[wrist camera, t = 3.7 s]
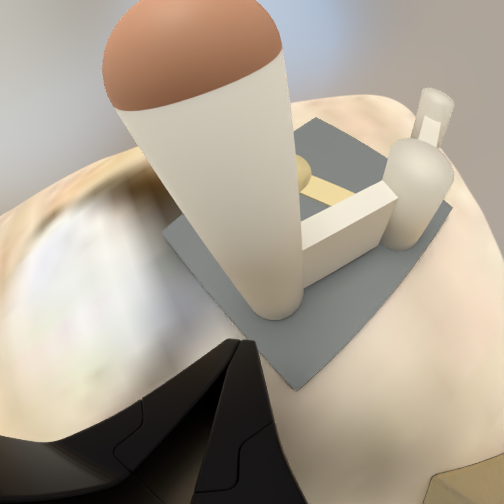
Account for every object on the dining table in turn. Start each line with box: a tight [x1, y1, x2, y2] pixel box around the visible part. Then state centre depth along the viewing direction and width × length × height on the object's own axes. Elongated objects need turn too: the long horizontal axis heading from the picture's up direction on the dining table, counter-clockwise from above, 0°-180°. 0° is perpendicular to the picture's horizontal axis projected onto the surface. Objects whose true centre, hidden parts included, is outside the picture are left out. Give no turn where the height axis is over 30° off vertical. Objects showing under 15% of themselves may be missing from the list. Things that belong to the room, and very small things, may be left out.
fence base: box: [380, 88, 454, 251], centre depth 15 cm, size 10×4×8 cm, turn 145°
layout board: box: [161, 118, 453, 391], centre depth 18 cm, size 16×14×1 cm
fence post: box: [102, 0, 398, 320], centre depth 9 cm, size 8×3×15 cm, turn 116°
